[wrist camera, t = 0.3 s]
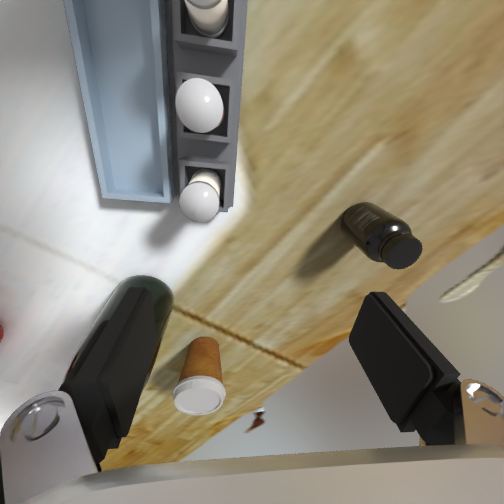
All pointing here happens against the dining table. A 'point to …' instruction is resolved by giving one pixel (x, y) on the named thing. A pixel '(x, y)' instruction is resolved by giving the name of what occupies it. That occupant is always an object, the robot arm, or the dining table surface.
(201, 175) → the fuse
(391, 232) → the supplement bottle
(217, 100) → the cylinder
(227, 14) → the ball
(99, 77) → the parts tray
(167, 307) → the green wine bottle
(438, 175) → the dining table surface
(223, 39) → the fuse holder
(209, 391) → the disposable coffee cup
